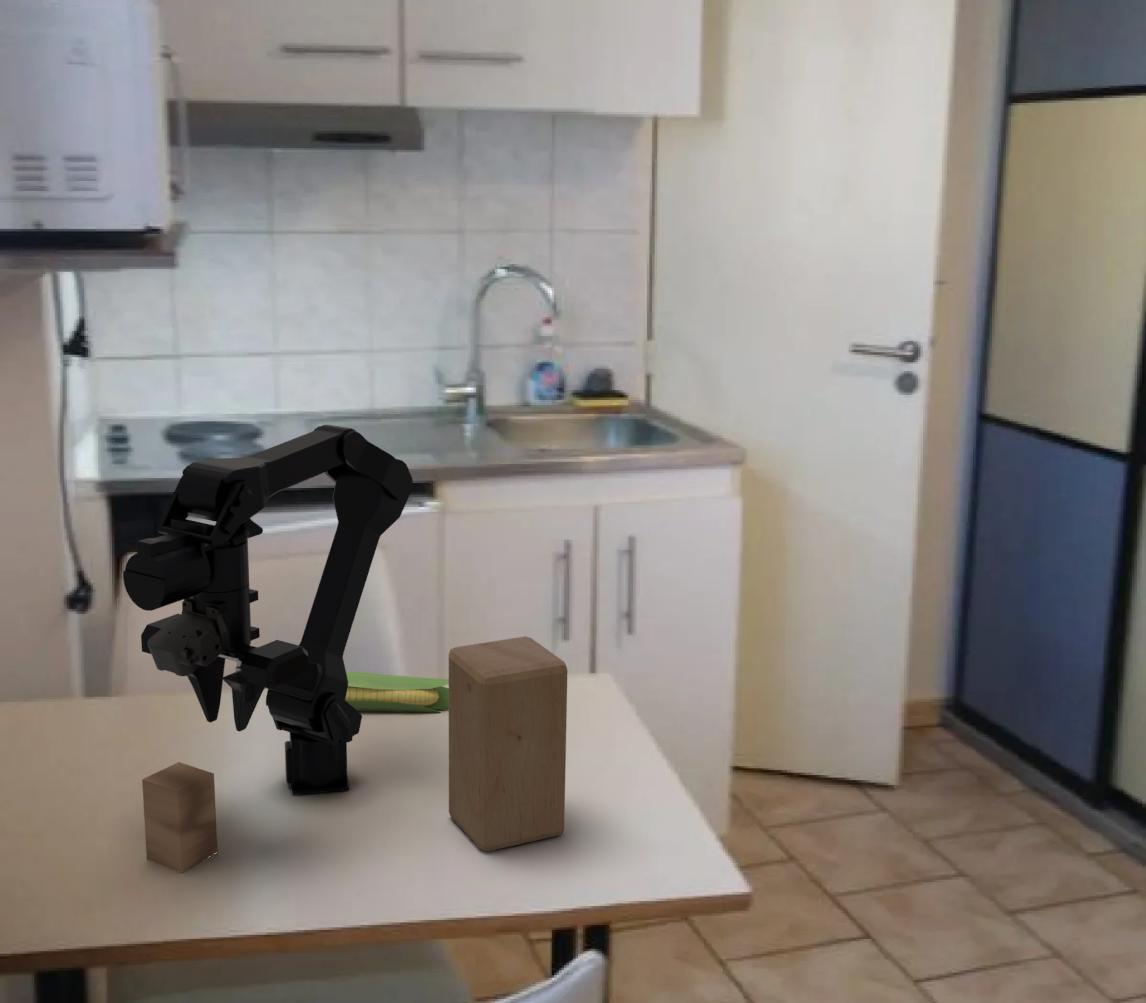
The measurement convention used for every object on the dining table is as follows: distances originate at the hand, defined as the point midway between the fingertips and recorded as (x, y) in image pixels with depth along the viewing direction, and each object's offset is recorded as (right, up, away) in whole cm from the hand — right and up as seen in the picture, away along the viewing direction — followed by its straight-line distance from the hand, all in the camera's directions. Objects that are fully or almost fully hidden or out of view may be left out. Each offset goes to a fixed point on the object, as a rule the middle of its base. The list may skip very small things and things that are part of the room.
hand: (226, 725), depth 155 cm
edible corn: (+13, -4, +36) cm, 38 cm away
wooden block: (+29, -12, +5) cm, 32 cm away
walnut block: (-4, -13, -3) cm, 14 cm away
